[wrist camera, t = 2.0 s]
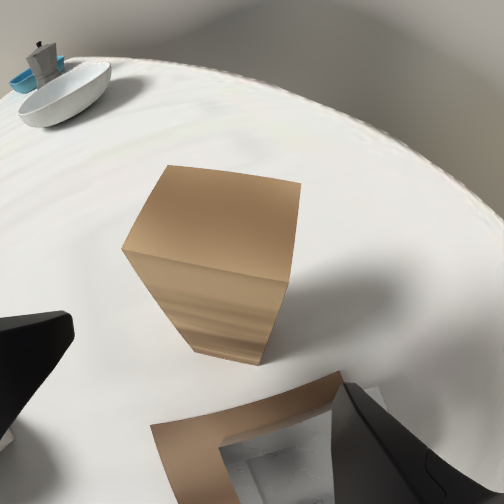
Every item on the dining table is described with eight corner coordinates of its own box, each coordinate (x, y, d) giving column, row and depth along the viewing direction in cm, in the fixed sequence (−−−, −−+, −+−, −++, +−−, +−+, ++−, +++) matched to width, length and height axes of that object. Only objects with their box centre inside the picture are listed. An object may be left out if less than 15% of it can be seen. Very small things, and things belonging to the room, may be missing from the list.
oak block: (258, 365, 17) (288, 282, 6) (194, 351, 18) (121, 248, 7) (267, 319, 19) (300, 183, 8) (206, 307, 20) (167, 164, 9)
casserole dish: (74, 68, 63) (71, 52, 57) (23, 99, 52) (17, 83, 46) (48, 69, 73) (45, 57, 67) (9, 95, 63) (5, 83, 57)
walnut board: (387, 516, 10) (393, 519, 9) (220, 571, 7) (219, 577, 7) (334, 372, 17) (339, 370, 16) (154, 424, 15) (150, 425, 14)
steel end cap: (382, 488, 11) (417, 500, 7) (266, 536, 9) (273, 566, 6) (348, 392, 15) (378, 386, 12) (224, 437, 14) (217, 447, 10)
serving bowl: (16, 138, 36) (5, 114, 30) (81, 88, 47) (75, 65, 41) (56, 146, 32) (42, 113, 26) (137, 87, 43) (132, 57, 37)
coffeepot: (63, 94, 46) (48, 37, 31) (33, 109, 44) (16, 54, 28) (71, 78, 53) (60, 30, 38) (45, 91, 51) (32, 44, 36)
